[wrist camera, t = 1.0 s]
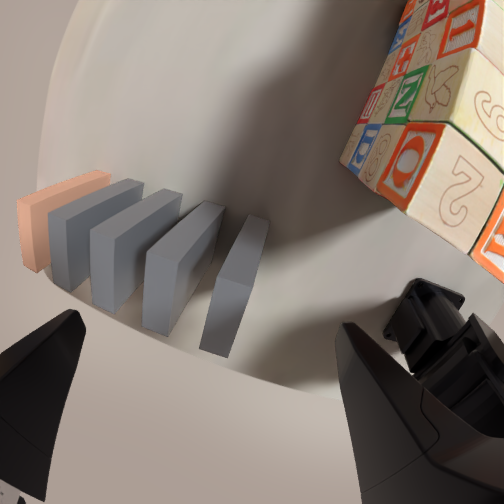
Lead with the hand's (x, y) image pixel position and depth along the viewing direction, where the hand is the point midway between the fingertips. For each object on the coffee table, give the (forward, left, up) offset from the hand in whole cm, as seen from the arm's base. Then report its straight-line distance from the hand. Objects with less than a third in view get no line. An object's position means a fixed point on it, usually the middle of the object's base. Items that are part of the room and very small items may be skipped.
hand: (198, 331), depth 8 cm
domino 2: (+10, +3, -13) cm, 16 cm away
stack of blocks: (-8, -16, -13) cm, 22 cm away
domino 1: (+13, +3, -13) cm, 19 cm away
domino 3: (+6, +3, -13) cm, 15 cm away
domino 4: (+3, +3, -13) cm, 13 cm away
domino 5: (0, +3, -13) cm, 13 cm away
